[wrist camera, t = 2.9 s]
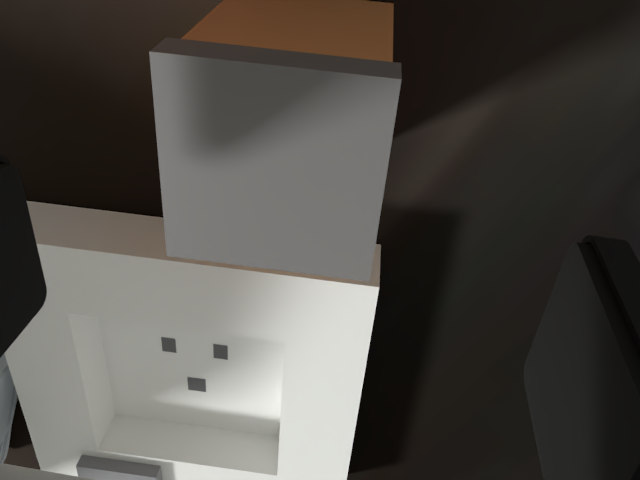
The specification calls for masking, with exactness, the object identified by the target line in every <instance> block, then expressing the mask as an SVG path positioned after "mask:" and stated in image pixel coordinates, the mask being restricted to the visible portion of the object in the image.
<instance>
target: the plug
mask: <svg viewBox="0 0 640 480" xmlns="http://www.w3.org/2000/svg"><path fill="white" fill-rule="evenodd" d="M393 11H394V3H385V2H376V1H366V0H223V1H222V2H221V3H220V4H219V5H218V6H217V7H216V8H215V9H213V10H212V11H211V12H210V13H209V14H208V15H207V16H206V17H205V18H204V19H202V20H201V21H200V22H199V23H198V24H197V25H196V26H195V27H194V28H192V29H191V30H190V31H189V32H188V33H187V34H186V35H185V36H184V37H183V38H181V39H178V38H168V37H166V38H165V39H163V40H162V41H161V42H160V43H159V44H157V45H156V46H155V47H154V48H153V49H152V50H150V51H149V55H150V67H151V79H152V90H153V102H154V114H155V125H156V137H157V149H158V160H159V172H160V184H161V195H162V207H163V219H164V230H165V242H166V254H167V256H170V257H178V258H186V259H194V260H202V261H210V262H217V263H225V264H233V265H241V266H249V267H257V268H265V269H273V270H281V271H289V272H297V273H304V274H312V275H320V276H328V277H336V278H344V279H352V280H360V281H368V282H370V277H371V270H372V264H373V258H374V251H375V245H376V239H377V232H378V226H379V220H380V213H381V207H382V201H383V194H384V188H385V182H386V175H387V169H388V163H389V156H390V150H391V144H392V137H393V131H394V125H395V118H396V112H397V106H398V99H399V93H400V87H401V80H402V74H401V63H397V62H393Z"/></svg>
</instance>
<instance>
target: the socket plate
mask: <svg viewBox="0 0 640 480" xmlns="http://www.w3.org/2000/svg"><path fill="white" fill-rule="evenodd" d="M27 205H28V209H29V214H30V218H31V222H32V227H33V231H34V235H35V239H36V244H37V248H38V252H39V257H40V261H41V265H42V270H43V274H44V278H45V283H46V288H47V295H46V300H45V302H44V305H43V306H42V308H41V309H40V311H39V312H38V313H37V314H36V315H35V317H34V318H33V319H32V320H31V321H30V323H29V324H28V325H27V326H26V328H25V329H24V330H23V331H22V332H21V334H20V335H19V336H18V337H17V338H16V340H15V341H14V342H13V343H12V345H11V346H10V347H9V348H8V349H7V351H6V352H5V353H4V354H5V357H6V360H7V363H8V366H9V370H10V373H11V376H12V379H13V382H14V386H15V389H16V392H17V395H18V398H19V402H20V405H21V408H22V411H23V414H24V417H25V421H26V424H27V427H28V430H29V433H30V437H31V440H32V443H33V446H34V449H35V453H36V456H37V459H38V462H39V465H40V469H41V470H43V471H48V472H54V473H60V474H66V475H71V476H77V477H83V478H89V479H94V480H347V475H348V469H349V463H350V457H351V451H352V445H353V439H354V434H355V428H356V422H357V416H358V410H359V404H360V398H361V392H362V386H363V381H364V375H365V369H366V363H367V357H368V351H369V345H370V339H371V333H372V328H373V322H374V316H375V310H376V304H377V298H378V292H379V283H380V258H381V244H376V245H375V251H374V258H373V264H372V270H371V277H370V282H368V281H360V280H352V279H344V278H336V277H328V276H320V275H312V274H304V273H297V272H289V271H281V270H273V269H265V268H257V267H249V266H241V265H233V264H225V263H217V262H210V261H202V260H194V259H186V258H178V257H170V256H167V254H166V242H165V230H164V219H163V218H162V217H154V216H146V215H138V214H130V213H122V212H114V211H106V210H97V209H89V208H81V207H73V206H65V205H57V204H49V203H41V202H33V201H27Z"/></svg>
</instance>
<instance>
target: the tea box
mask: <svg viewBox="0 0 640 480" xmlns="http://www.w3.org/2000/svg"><path fill="white" fill-rule="evenodd" d="M17 398H18V395H17V392H16V389H15V386H14V382H13V379H12V376H11V373H10V370H9V366H8V363H7V360H6V357H5V354H3V356H2V357H1V358H0V463H2V464H3V462H4V460H5V459H6V457H7V452H8V448H9V442H10V435H11V427H12V422H13V417H14V412H15V408H16V403H17Z"/></svg>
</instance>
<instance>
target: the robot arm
mask: <svg viewBox="0 0 640 480" xmlns="http://www.w3.org/2000/svg"><path fill="white" fill-rule="evenodd" d="M46 295H47V288H46V283H45V278H44V274H43V270H42V265H41V261H40V257H39V252H38V248H37V244H36V239H35V235H34V231H33V227H32V222H31V218H30V214H29V209H28V205H27V201H26V196H25V192H24V188H23V183H22V179H21V175H20V172H19V170H18V169H17V167H15V166H14V165H11V162H10V161H9V160H8V158H6V157H5V156H3V155H0V358H1V357H2V356H3V354H4V353H5V352H6V351H7V349H8V348H9V347H10V346H11V345H12V343H13V342H14V341H15V340H16V338H17V337H18V336H19V335H20V334H21V332H22V331H23V330H24V329H25V328H26V326H27V325H28V324H29V323H30V321H31V320H32V319H33V318H34V317H35V315H36V314H37V313H38V312H39V311H40V309H41V308H42V306H43V305H44V302H45V300H46ZM524 384H525V389H526V394H527V399H528V404H529V409H530V414H531V419H532V424H533V429H534V434H535V439H536V444H537V449H538V454H539V459H540V464H541V469H542V474H543V479H544V480H640V263H639V261H638V259H637V257H636V256H635V254H634V252H633V250H632V248H631V246H630V245H629V243H628V242H627V241H626V240H621V239H614V238H606V237H599V236H592V235H588V236H586V237H585V238H584V239H583V241H582V242H581V243H577V242H574V243H572V244H571V245H570V247H569V249H568V251H567V253H566V256H565V259H564V261H563V264H562V267H561V269H560V272H559V275H558V277H557V280H556V282H555V285H554V288H553V290H552V293H551V296H550V298H549V301H548V304H547V306H546V309H545V311H544V314H543V317H542V319H541V322H540V325H539V327H538V330H537V333H536V335H535V338H534V340H533V343H532V346H531V348H530V351H529V354H528V356H527V359H526V362H525V367H524ZM0 480H94V479H89V478H83V477H77V476H71V475H66V474H60V473H54V472H48V471H43V470H37V469H31V468H25V467H20V466H14V465H8V464H2V463H0Z"/></svg>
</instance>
